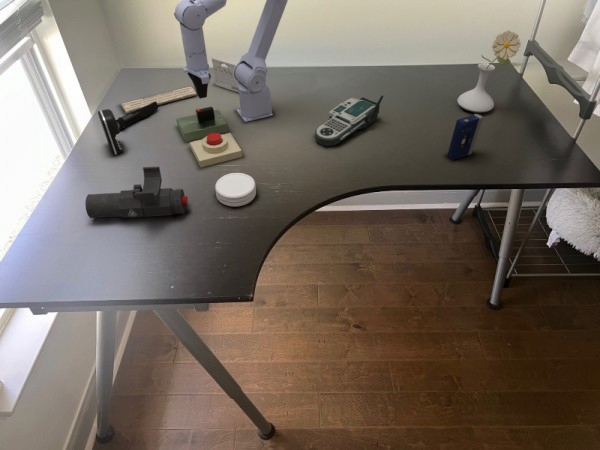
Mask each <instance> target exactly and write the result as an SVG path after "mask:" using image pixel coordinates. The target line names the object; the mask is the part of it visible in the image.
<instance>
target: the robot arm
mask: <svg viewBox="0 0 600 450" xmlns="http://www.w3.org/2000/svg"><path fill="white" fill-rule="evenodd" d="M227 1H228V0H180V1H179V2H177V4H176V6H175V9H174V12H173V16H174V19H175V20H176V21H178V23H179V27H180V35H181V41H182V46H183V47H182V48H183V52H184V57H185V64H186V66H183V67H182V70H183V72H184V73H186V74H187V76H188V77H189V78H190V80H191V83H192V85H193V86H194V88H195V89H194V90H195V92H196V94H197V96H198V98H199V99H200V100H201V99H205V98H207V97H208V89H209V84H210V83H211V77H212V75H211V73H210V65H209V61H208V55H207V48H206V42H205V41H206V40H205V34H204V30H203V29H204V28H203V27H204V24H205V22H206V20H207V18H209V17H210V16H212V15H214V14H215V13H217V12H219V10H221V9H223V8H224V7H225V6H226V5H227ZM288 2H289V0H265V3H264V6H263V8H262V12H261V15H260V17H259V19H258V23H257V25H256V27H255V31H254V34H253V37H252V39H251V42H250V45H249V47H248V51H247V52H246V53H244V54H242V55H241V57H240V59H239V61H238V63H236V64H235V65H236V66H235V68H234V72H233V74H234V77H235V79H236V80H237V81H238V88H239V93H238V96H239V108H237V109H236V112H237V113H238V115H239V116H240V117H241V119H242V121H243V122H245V123H246V122H247V123H248V122H251V121H257V120H260V119H265V118H268V117H272V116H273V115H274V114H273V111H272V94H271V90H270V87H269V86H268V84H266V82H267V78H266V77H267V73H268V67H267V63H266V59H267V56H268V54H269V51H270V49H271V46H272V44H273V40H274V39H275V36H276V33H277V30H278V28H279V25H280V22H281V19H282V18H283V15H284V12H285V10H286V6H287V4H288Z"/></svg>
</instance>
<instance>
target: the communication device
mask: <svg viewBox="0 0 600 450" xmlns="http://www.w3.org/2000/svg"><path fill="white" fill-rule="evenodd" d="M383 99H384V95H381V96H380V97H379V99H378V100H377V102H376V101H374V100H371V99H368V98H366V97H364V96H363V97H361V98H359V99H358V98H356V97H351V98H348V99H347V100H345V101H344V102H341V103H339V104H338V105H337V106H335V107H334V108H332V109H331V110H330V111H329V114H328V116H329V119H327V120H326V121H325V122H323V123H322V124H320V125H319V126H318V127H317V128H316V129H315V130H314V139H315V141H316V142H317V143H318V144H319V145H320V146H324V147H333V146H336V145H337V144H340V142H342V141H343V140H345V139H347V138H348V137H349V136H350V135H352V134H353V133H354V132H356V131H357V130H364V129H365V128H366V127H368V126H369V125H370V124H371V123H373V122H374V121H376V120H377V119H378V115H379V114H380V107H381V106H380V105H381V103H382V100H383Z"/></svg>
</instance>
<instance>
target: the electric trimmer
mask: <svg viewBox="0 0 600 450" xmlns="http://www.w3.org/2000/svg"><path fill="white" fill-rule="evenodd" d="M158 106H159V105H157V102H153V103H151V104H148V105H146V106H144V107H142V108H140V109H138V110H136V111H133V112H130V113H127V114H125V115H123V116H120V117H119V116H118V118H117V119H116V122H117V124H118V127H119V130H120V131H123V130H124V129H125V127H127V126H129V125H131V124H133V123H135V122H136V121H138V120H140V119H145V118H147V117H149V116H150V115H151V114H152V113H154V112H155V111H157V110H158V108H159V107H158Z"/></svg>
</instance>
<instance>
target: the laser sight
mask: <svg viewBox="0 0 600 450" xmlns="http://www.w3.org/2000/svg"><path fill="white" fill-rule="evenodd" d="M142 171H143V185H142V184H141V183H140V184H139V183H138V184H133V188H132V189H129V190H126V189H125V190H120V192H110V193H109V192H108V193H106V192H105V193H90V194H87V195H86V197H85V203H84V205H85V211H86V214H87V216H88V218H90V219H95V218H113V217H122V218H125V219H127V218H145V217H162V216H163V217H165V216H174V215H175V214H185V212H186V206H187V207H188V205H189V199H188V195H187V196H186V195H185V191H184V189H183V188H177V189H176V188H175V189H173V188H171V187H167V188H161V187H162V183H163V179H162V174H161V169H160V166H143V167H142Z"/></svg>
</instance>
